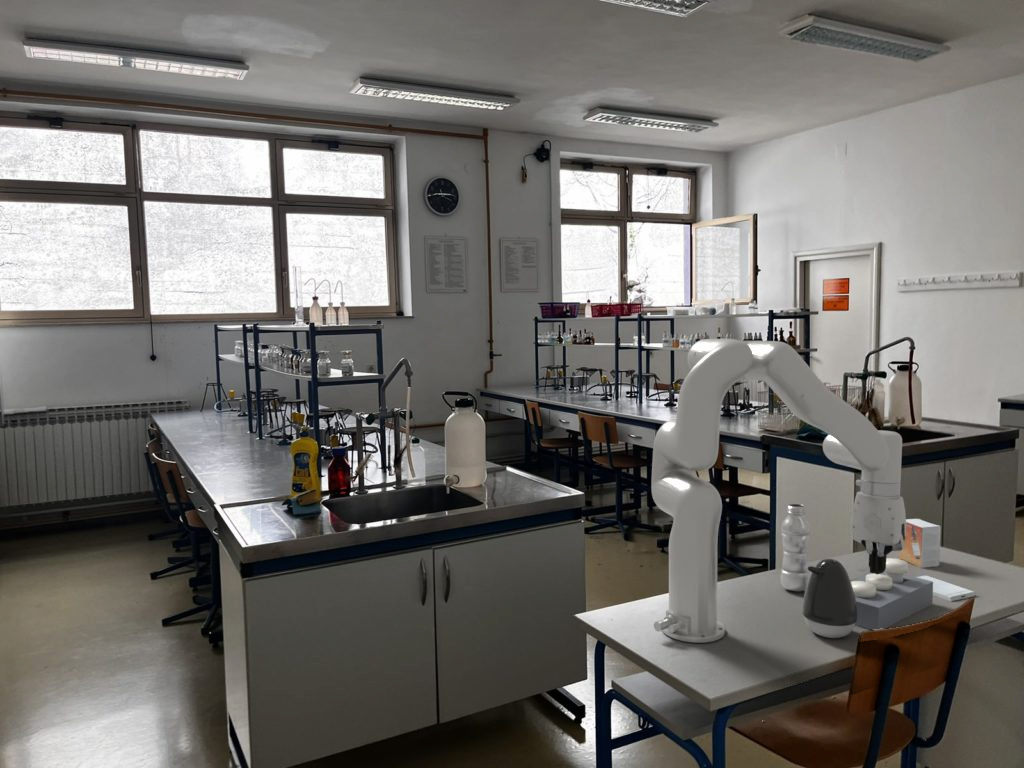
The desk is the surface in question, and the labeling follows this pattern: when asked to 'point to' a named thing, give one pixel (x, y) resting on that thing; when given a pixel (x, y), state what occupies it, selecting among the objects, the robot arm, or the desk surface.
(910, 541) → the small box
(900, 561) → the knob far
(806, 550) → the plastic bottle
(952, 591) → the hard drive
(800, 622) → the desk surface
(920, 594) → the housing
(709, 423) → the robot arm
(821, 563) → the dark grey penguin figure
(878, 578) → the knob mid
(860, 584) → the knob near
